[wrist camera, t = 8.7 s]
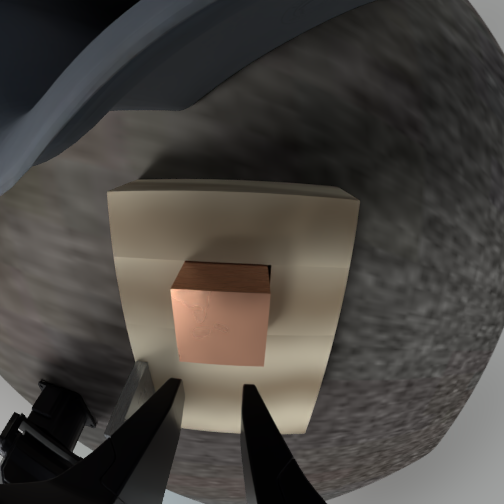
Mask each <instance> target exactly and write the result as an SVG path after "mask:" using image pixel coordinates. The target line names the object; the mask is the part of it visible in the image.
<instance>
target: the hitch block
mask: <svg viewBox="0 0 504 504" xmlns="http://www.w3.org/2000/svg"><path fill="white" fill-rule="evenodd" d="M107 198H108V211H109V222H110V232H111V240H112V248H113V256H114V263H115V269H116V275H117V281H118V287H119V293H120V298H121V303H122V308H123V313H124V318H125V322H126V327H127V331H128V335H129V340H130V344H131V348H132V351H133V355H134V359H135V362H136V361H141V362H148V366H149V370H150V374H151V378H152V381H153V385H154V389H155V392H156V391H157V390H158V389H159V388H160V387H161V386H162V385H163V384H164V383H165V382H166V381H167V380H168V379H169V378H171V377H173V378H180V379H182V381H183V385H184V391H185V401H184V408H183V416H182V423H181V428H186V429H194V430H203V431H214V432H226V433H241V406H242V388H243V384H254V385H255V386H256V387H257V389H258V391H259V393H260V395H261V397H262V399H263V401H264V403H265V405H266V407H267V409H268V411H269V413H270V414H271V416H272V418H273V420H274V422H275V424H276V426H277V428H278V430H279V431H280V433H281V434H301V433H305V432H306V429H307V426H308V423H309V420H310V417H311V414H312V411H313V408H314V405H315V402H316V399H317V396H318V393H319V389H320V386H321V383H322V379H323V376H324V373H325V369H326V366H327V362H328V358H329V355H330V351H331V347H332V344H333V340H334V336H335V332H336V328H337V324H338V319H339V315H340V311H341V306H342V302H343V297H344V293H345V288H346V283H347V278H348V273H349V268H350V262H351V257H352V251H353V245H354V239H355V233H356V227H357V220H358V213H359V206H360V200H358V199H357V198H355V197H353V196H352V195H350V194H349V193H347V192H345V191H344V190H342V189H340V188H339V187H335V186H324V185H313V184H300V183H286V182H270V181H250V180H221V179H142V180H135V181H133V182H130V183H127V184H125V185H122V186H120V187H117V188H115V189H112V190H110V191H108V192H107ZM185 261H200V262H220V263H241V264H263V265H267V266H268V274H269V283H270V292H271V296H270V308H269V319H268V330H267V340H266V351H265V361H264V367H260V366H233V365H216V364H202V363H191V362H180V361H179V355H178V348H177V341H176V333H175V325H174V317H173V308H172V298H171V287H172V285H173V283H174V281H175V279H176V277H177V275H178V273H179V271H180V269H181V267H182V266H183V264H184V262H185Z"/></svg>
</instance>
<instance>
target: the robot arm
mask: <svg viewBox="0 0 504 504" xmlns="http://www.w3.org/2000/svg"><path fill="white" fill-rule="evenodd" d="M38 385H39V387H40V389H41V390H42V392H41V394H40V396H39V397H38V399H37V400H36V402H35V403H34V405H33V407H32V411H31V413H30V415H29V417H28V418H26V417H25V415H24V414H23V413H21V415H20V414H18V413H15V412H14V414H13V415H12V417H11V418H10V420H9V422H8V423H7V425H6V426H5V428H4V430H3V431H2V433H1V435H0V455H2V456H3V459H2V461H1V463H0V504H162V501H163V497H164V493H165V489H166V485H167V482H168V478H169V474H170V470H171V466H172V463H173V459H174V455H175V451H176V448H177V444H178V440H179V436H180V430H181V423H182V416H183V408H184V401H185V391H184V385H183V381H182V379H180V378H173V377H171V378H169V379H168V380H167V381H166V382H165V383H164V384H163V385H162V386H161V387H160V388H159V389H158V390H157V391H156V392H155V393H154V394H153V395H152V396H151V397H150V398H149V399H148V400H147V401H146V402H145V403H144V404H143V405H142V406H141V407H140V408H139V409H138V410H137V411H136V412H135V413H134V414H133V415H132V416H131V417H130V418H129V419H128V420H126V421H125V422H124V423H123V424H122V425H121V426H120V427H119V428H118V429H117V430H116V431H115V432H114V433H113V434H112V435H111V436H110V437H111V438H110V437H109V438H107V439H106V440H105V441H104V442H103V443H102V444H101V445H100V446H99V447H98V448H96V449H95V450H94V451H93V452H92V453H91V454H89V455H88V456H87V457H85V458H84V459H83V458H81V457H79V456H77V455H75V454H74V453H73V450H74V448H75V445H76V443H77V441H78V439H79V437H80V434H81V432H82V430H83V428H84V426H85V425H86V426H89V427H92V428H95V427H96V423H95V422H94V420H93V418H92V416H91V415H90V413H89V411H88V409H87V407H86V406H85V404H84V402H83V400H82V398H81V396H80V395H79V394H77V393H74V392H71V391H68V390H65V389H62V388H59V387H56V386H53V385H50V384H48V383H45V382H42V381H39V383H38ZM18 428H19V429H20V430H22V431H23V433H21V432H20V431H18ZM240 442H241V454H242V463H243V472H244V482H245V490H246V499H247V504H327V503H326V502H325V501H324V500H323V498H322V497H321V496H320V495H319V494H318V492H317V491H316V490H315V489H314V487H313V486H312V485H311V484H310V482H309V481H308V480H307V478H306V477H305V475H304V474H303V472H302V470H301V469H300V467H299V465H298V464H297V462H296V460H295V459H293V458H294V457H293V455H292V453H291V451H290V450H289V448H288V446H287V444H286V442H285V441H284V439H283V437H282V435H281V433H280V431H279V430H278V428H277V426H276V424H275V422H274V420H273V418H272V416H271V414H270V413H269V411H268V409H267V407H266V405H265V403H264V401H263V399H262V397H261V395H260V393H259V391H258V389H257V387H256V386H255V385H254V384H243V388H242V406H241V433H240Z"/></svg>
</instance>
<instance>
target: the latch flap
mask: <svg viewBox="0 0 504 504" xmlns="http://www.w3.org/2000/svg"><path fill="white" fill-rule="evenodd" d="M154 393H155V389H154V385H153V381H152V378H151V374H150V370H149V366H148V362H141V361H136V362H135V364H134V366H133V369H132V371H131V373H130V375H129V377H128V379H127V382H126V384H125V386H124V388H123V390H122V393H121V395H120V397H119V399H118V402H117V404H116V406H115V409H114V411H113V413H112V416H111V418H110V420H109V423H108V425H107V427H106V430H105V432H104V435H105V437H106V439H107V438H109V437H110V436H111V435H112V434H113V433H114V432H115V431H116V430H117V429H118V428H119V427H120V426H121V425H122V424H123V423H124V422H125V421H126V420H128V419H129V418H130V417H131V416H132V415H133V414H134V413H135V412H136V411H137V410H138V409H139V408H140V407H141V406H142V405H143V404H144V403H145V402H146V401H147V400H148V399H149V398H150V397H151V396H152V395H153V394H154ZM110 438H111V437H110Z"/></svg>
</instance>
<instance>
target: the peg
mask: <svg viewBox="0 0 504 504" xmlns="http://www.w3.org/2000/svg"><path fill="white" fill-rule="evenodd" d="M270 296H271V292H270V283H269V274H268V266H267V265H263V264H241V263H220V262H200V261H185V262H184V264H183V266H182V267H181V269H180V271H179V273H178V275H177V277H176V279H175V281H174V283H173V285H172V287H171V298H172V308H173V317H174V325H175V333H176V341H177V348H178V355H179V361H180V362H191V363H202V364H216V365H233V366H260V367H264V361H265V351H266V340H267V330H268V319H269V308H270Z"/></svg>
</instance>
